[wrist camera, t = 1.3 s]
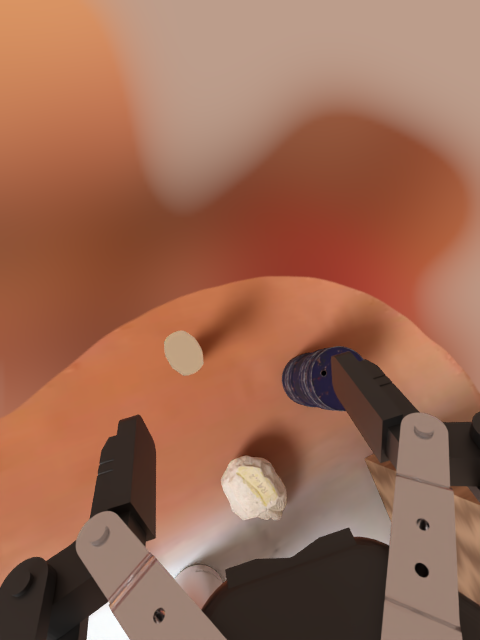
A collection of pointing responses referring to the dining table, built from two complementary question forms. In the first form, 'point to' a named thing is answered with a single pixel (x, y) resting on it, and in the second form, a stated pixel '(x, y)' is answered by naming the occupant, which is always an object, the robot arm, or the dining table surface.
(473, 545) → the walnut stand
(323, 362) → the storage jar
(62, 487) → the dining table surface
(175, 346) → the handle
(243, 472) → the fossil replica
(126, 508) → the robot arm
